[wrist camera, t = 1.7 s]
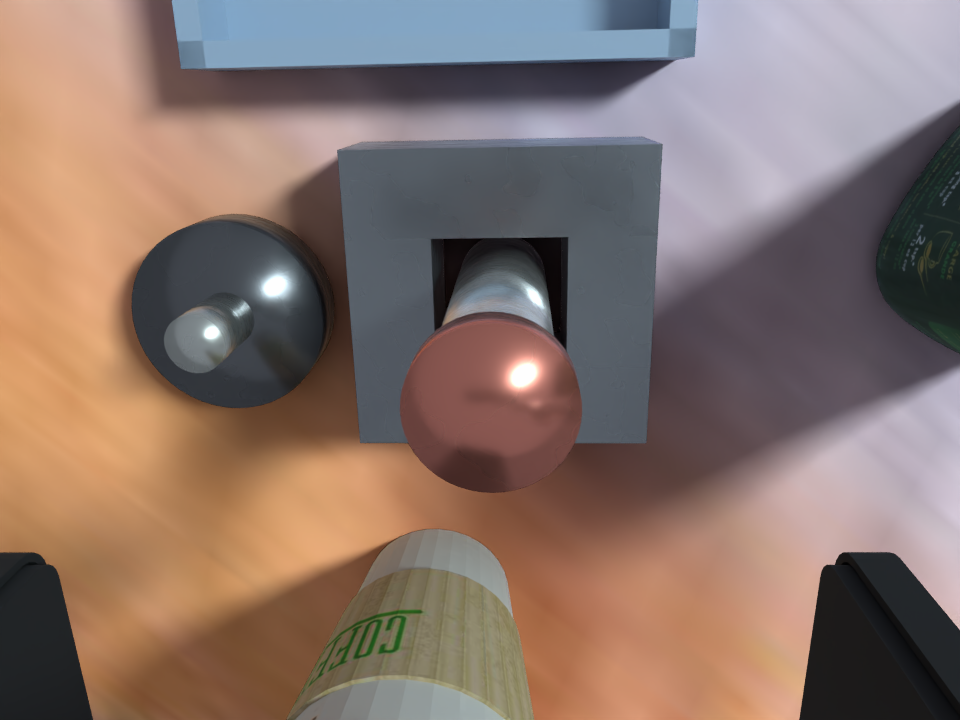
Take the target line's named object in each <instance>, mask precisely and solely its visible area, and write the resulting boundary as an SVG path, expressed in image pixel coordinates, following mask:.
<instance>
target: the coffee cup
mask: <svg viewBox="0 0 960 720" xmlns="http://www.w3.org/2000/svg"><path fill="white" fill-rule="evenodd" d="M286 720H534V716H533V711H532V705H531V699H530V693H529V687H528V682H527V676H526V670H525V664H524V658H523V653H522V647H521V641H520V636H519V633H518V629H517V626H516V623H515V621H514V619H513V614H512V608H511V601H510V595H509V589H508V583H507V579H506V576H505V572H504V570H503V568H502V566H501V565H500V563H499V561H498V560H497V558H496V557H495V556H494V555H493V554H492V553H491V551H490V550H488V549H487V548H486V547H485V546H483V545H482V544H481V543H480V542H478V541H476V540H474V539H472V538H471V537H469V536H467V535H464V534H461V533H458V532H455V531H449V530H442V529H425V530H420V531H415V532H411V533H409V534H406V535H404V536H401V537H399V538H397V539H396V540H394V541H393V542H391V543H390V544H388V545H387V546H386V547H385V548H384V549H383V550H382V551H381V552H380V553H379V555H378V556H377V558H376V560H375V561H374V563H373V565H372V566H371V568H370V570H369V572H368V574H367V576H366V578H365V580H364V582H363V584H362V586H361V588H360V589H359V591H358V593H357V595H356V596H355V597H354V598H353V599H352V600H351V602H350V603H349V605H348V606H347V608H346V610H345V611H344V613H343V615H342V617H341V618H340V620H339V622H338V624H337V626H336V628H335V630H334V631H333V633H332V635H331V637H330V639H329V641H328V643H327V644H326V646H325V648H324V650H323V652H322V654H321V656H320V657H319V659H318V661H317V663H316V665H315V667H314V669H313V670H312V672H311V674H310V676H309V678H308V680H307V682H306V684H305V685H304V687H303V689H302V691H301V693H300V695H299V697H298V698H297V700H296V702H295V704H294V706H293V708H292V710H291V711H290V713H289V715H288V717H287V719H286Z"/></svg>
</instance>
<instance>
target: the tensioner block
mask: <svg viewBox="0 0 960 720" xmlns="http://www.w3.org/2000/svg"><path fill="white" fill-rule="evenodd" d="M337 153H338V166H339V179H340V192H341V204H342V217H343V230H344V243H345V255H346V268H347V281H348V293H349V306H350V319H351V332H352V344H353V357H354V370H355V383H356V395H357V408H358V421H359V433H360V443H408V441H407V438H406V436H405V434H404V430H403V427H402V423H401V416H400V398H401V391H402V387H403V384H404V381H405V378H406V375H407V373H408V370H409V368H410V365H411V363H412V361H413V359H414V356H415V354H416V353H417V351H418V350H419V348H420V347H421V345H422V344H423V343H424V342H425V340H426V339H427V338H428V337H429V336H430V335H431V334H432V333H434V332H435V331H436V330H437V329H438V328H440V327H441V326H442V324H443V321H444V318H445V315H446V305H445V278H444V251H443V239H453V238H534V237H562V253H561V326H560V332H553V333H554V337H555V338H556V339H557V340H558V341H559V342H560V343H561V344H562V346H563V347H564V349H565V350H566V352H567V353H568V355H569V357H570V359H571V361H572V363H573V365H574V368H575V371H576V374H577V379H578V384H579V389H580V395H581V400H582V419H581V425H580V429H579V433H578V436H577V438H576V441H575V443H646V440H647V422H648V403H649V385H650V366H651V348H652V329H653V311H654V292H655V274H656V255H657V237H658V218H659V200H660V181H661V163H662V144H661V143H658V142H655V141H653V140H650V139H647V138H645V137H601V138H548V139H496V140H443V141H390V142H360V143H357V144H354V145H351V146H348V147H345V148H342V149H339V150H337Z"/></svg>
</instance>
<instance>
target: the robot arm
mask: <svg viewBox="0 0 960 720" xmlns="http://www.w3.org/2000/svg"><path fill="white" fill-rule="evenodd" d="M0 720H93V718H92V714H91V709H90V705H89V701H88V697H87V693H86V688H85V684H84V680H83V676H82V672H81V667H80V663H79V659H78V655H77V650H76V646H75V642H74V638H73V634H72V629H71V625H70V621H69V617H68V613H67V608H66V604H65V600H64V596H63V592H62V587H61V583H60V579H59V575H58V573H57V570H56V569H55V568H54V567H53V566H51V565H46V562H45V560H44V559H43V558H42V556H41V555H39V554H37V553H0ZM799 720H960V630H959V629H958V627H957V626H956V625H955V624H954V623H953V621H952V620H951V619H950V618H949V617H948V615H947V614H946V613H945V612H944V611H943V609H942V608H941V607H940V606H939V605H938V603H937V602H936V601H935V600H934V599H933V597H932V596H931V595H930V594H929V593H928V591H927V590H926V589H925V588H924V587H923V585H922V584H921V583H920V582H919V581H918V579H917V578H916V577H915V576H914V575H913V573H912V572H911V571H910V570H909V569H908V567H907V566H906V565H905V564H904V563H903V561H902V560H901V559H900V558H899V557H898V556H897V555H896V554H894V553H889V552H844V553H842V554H840V555H839V557H838V558H837V560H836V563H835V565H826V566H824V568H823V570H822V572H821V577H820V583H819V590H818V597H817V604H816V610H815V617H814V624H813V631H812V638H811V644H810V651H809V658H808V665H807V672H806V678H805V685H804V692H803V699H802V706H801V713H800V719H799Z"/></svg>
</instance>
